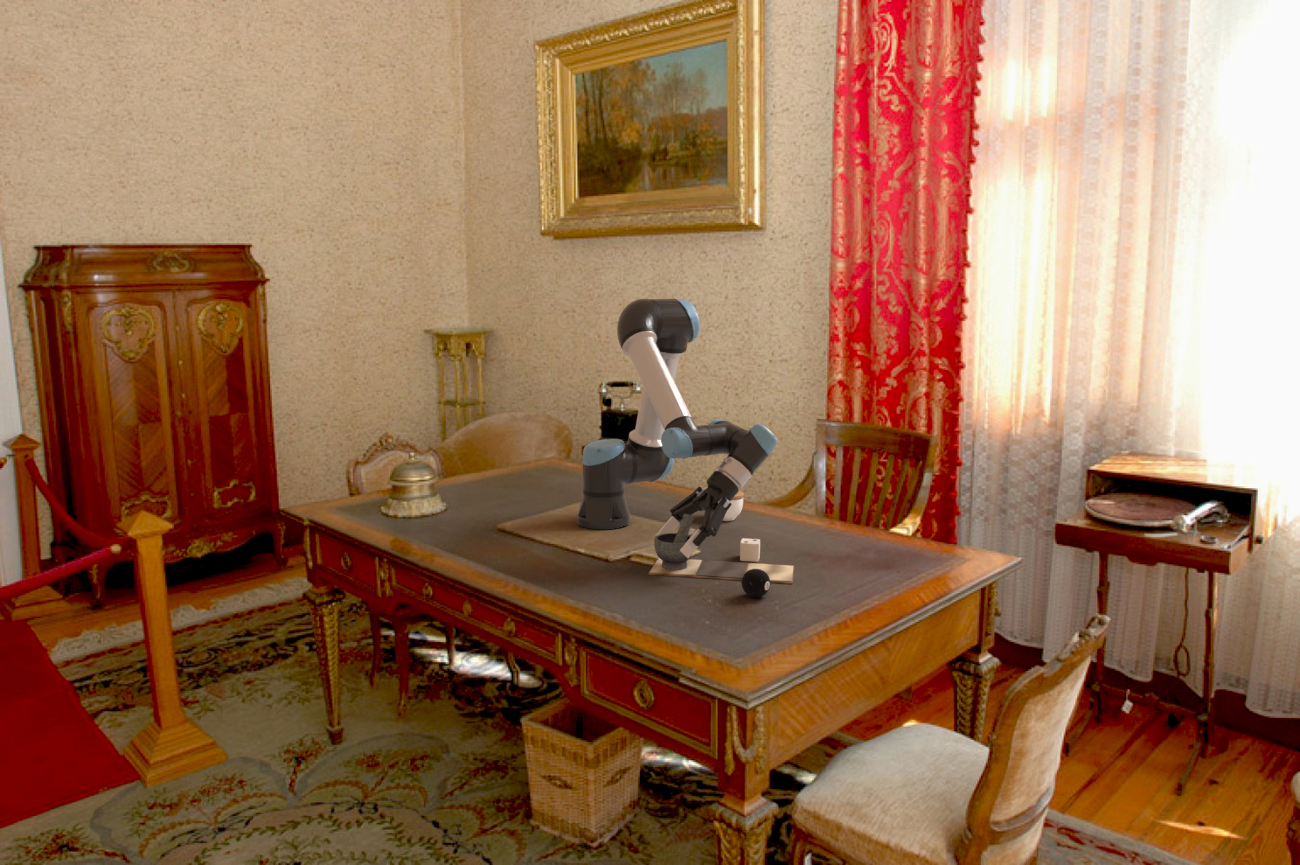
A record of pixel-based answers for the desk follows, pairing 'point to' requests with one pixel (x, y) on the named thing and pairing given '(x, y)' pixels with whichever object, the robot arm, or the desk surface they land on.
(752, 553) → the cream white block
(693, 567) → the board
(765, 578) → the billiard ball
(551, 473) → the desk surface
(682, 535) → the mortar and pestle
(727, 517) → the lidded jar
